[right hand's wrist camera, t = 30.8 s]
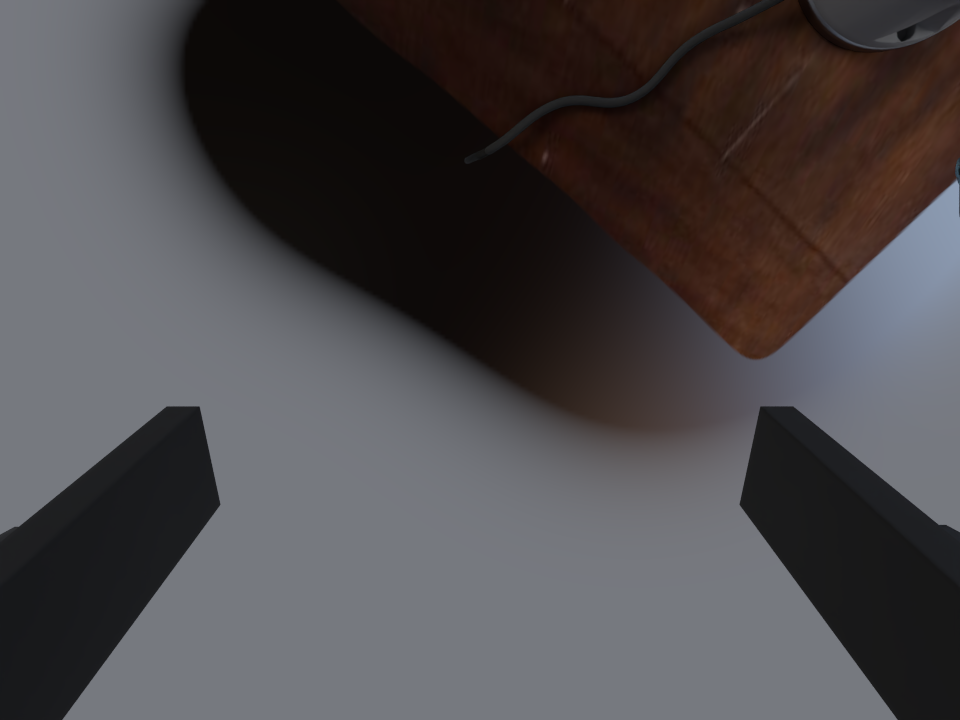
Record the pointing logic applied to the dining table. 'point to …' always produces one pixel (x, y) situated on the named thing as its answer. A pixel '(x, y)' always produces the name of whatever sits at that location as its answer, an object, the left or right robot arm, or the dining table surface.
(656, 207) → the dining table surface
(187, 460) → the right robot arm
